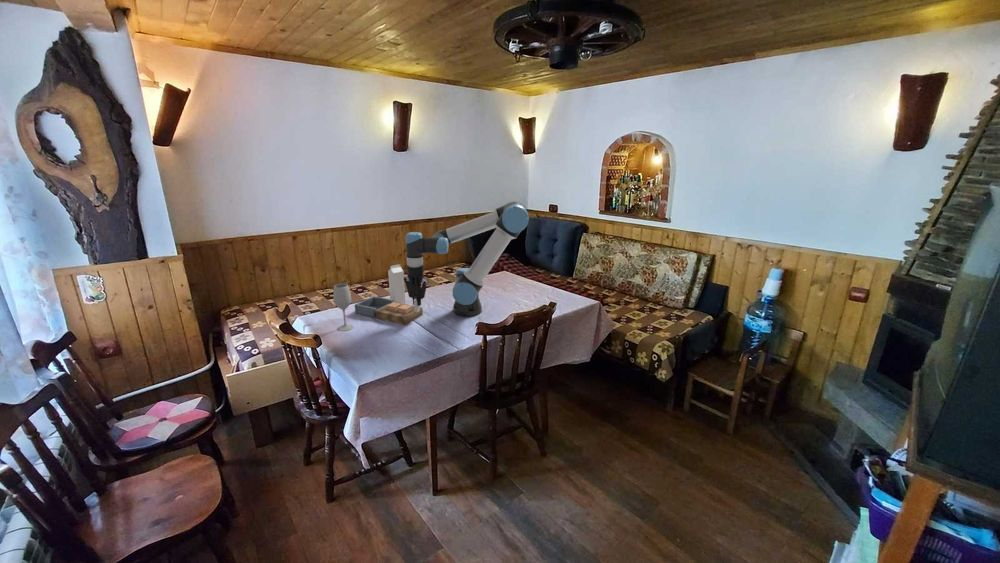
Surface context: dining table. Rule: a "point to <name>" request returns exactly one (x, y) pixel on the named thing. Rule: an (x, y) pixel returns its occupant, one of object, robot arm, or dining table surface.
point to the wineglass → (342, 302)
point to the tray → (371, 306)
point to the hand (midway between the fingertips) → (417, 311)
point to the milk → (396, 284)
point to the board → (398, 315)
